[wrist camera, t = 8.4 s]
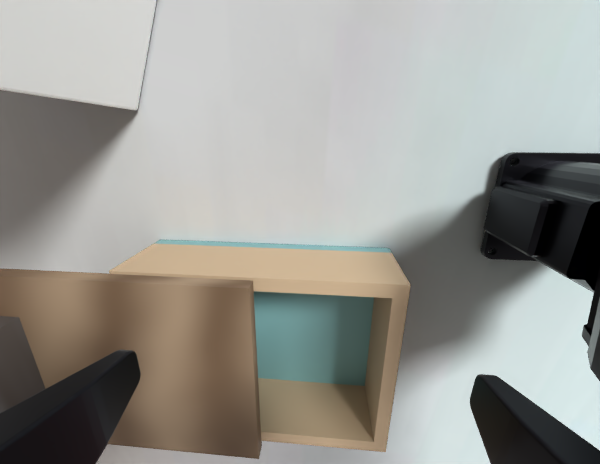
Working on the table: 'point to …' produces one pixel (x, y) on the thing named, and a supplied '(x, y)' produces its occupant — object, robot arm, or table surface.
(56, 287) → the lid
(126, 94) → the milk carton
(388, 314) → the box
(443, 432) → the table surface
